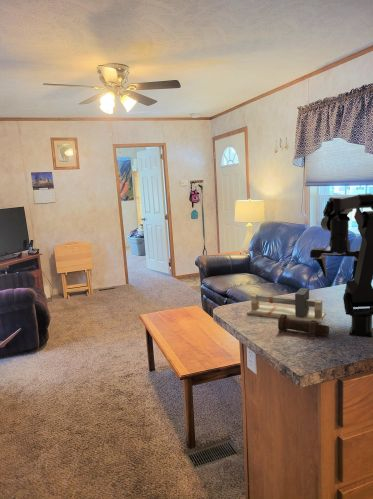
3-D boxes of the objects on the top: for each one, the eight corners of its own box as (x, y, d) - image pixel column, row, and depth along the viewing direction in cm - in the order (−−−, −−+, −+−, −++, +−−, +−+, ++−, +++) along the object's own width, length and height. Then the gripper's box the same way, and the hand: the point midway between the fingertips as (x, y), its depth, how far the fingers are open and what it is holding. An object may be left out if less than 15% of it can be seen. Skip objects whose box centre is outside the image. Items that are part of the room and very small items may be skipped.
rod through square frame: (320, 322, 127) (320, 305, 126) (247, 313, 140) (246, 297, 139) (325, 313, 135) (325, 296, 134) (256, 305, 148) (255, 290, 147)
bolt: (327, 343, 115) (279, 334, 123) (330, 330, 118) (283, 322, 126) (326, 331, 112) (276, 322, 120) (329, 318, 115) (281, 310, 123)
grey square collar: (304, 317, 130) (304, 294, 129) (295, 316, 132) (295, 293, 130) (309, 310, 137) (309, 288, 136) (300, 309, 138) (300, 288, 137)
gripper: (372, 230, 131) (371, 274, 134) (317, 230, 141) (317, 271, 144) (368, 234, 122) (367, 281, 124) (309, 234, 132) (309, 277, 134)
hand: (339, 277), depth 132 cm, fingers open, 9 cm apart
